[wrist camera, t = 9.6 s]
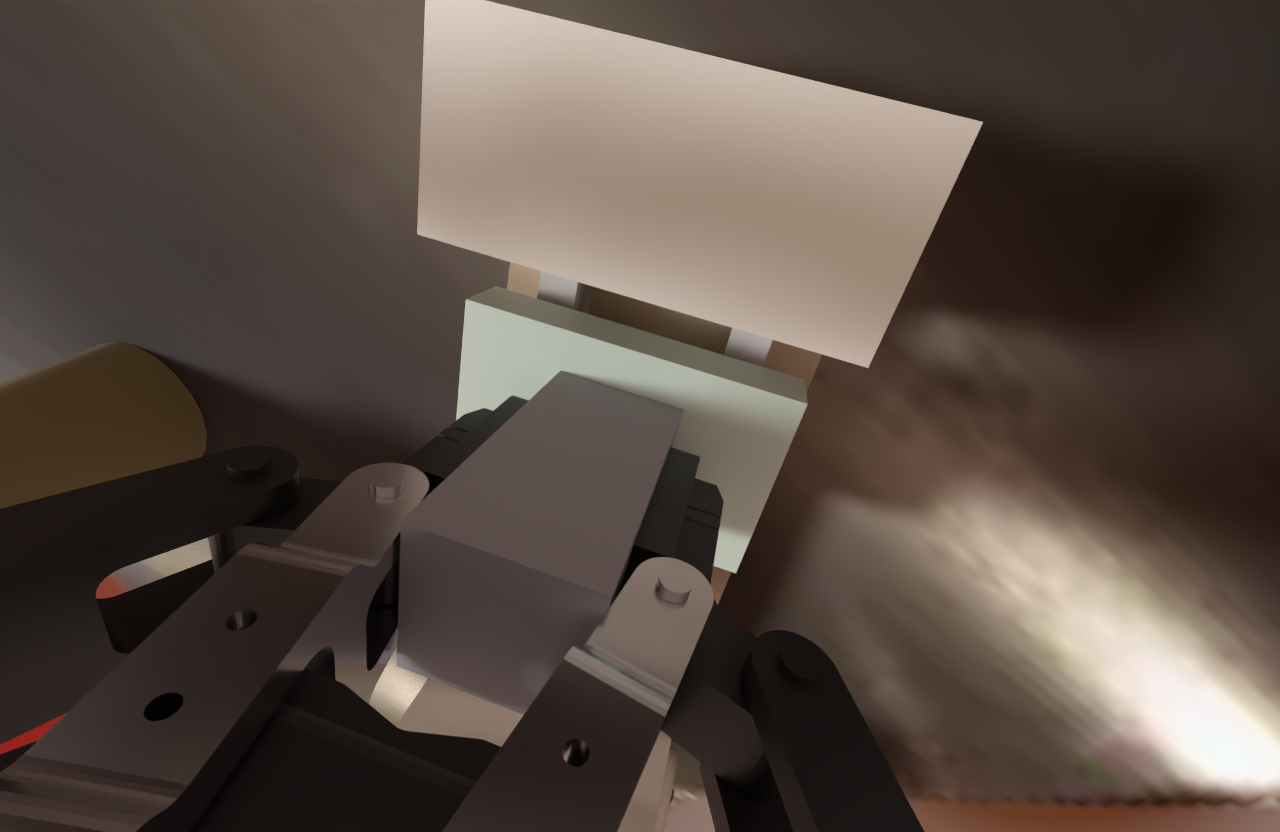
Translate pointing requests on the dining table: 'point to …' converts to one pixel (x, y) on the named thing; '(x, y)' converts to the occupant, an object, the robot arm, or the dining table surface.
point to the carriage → (571, 485)
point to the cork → (93, 422)
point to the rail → (671, 215)
